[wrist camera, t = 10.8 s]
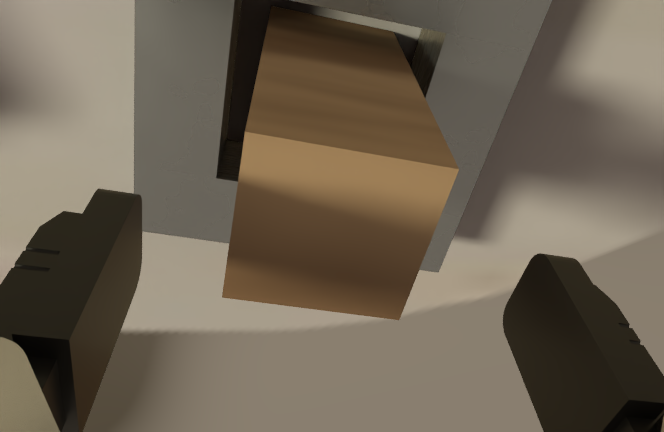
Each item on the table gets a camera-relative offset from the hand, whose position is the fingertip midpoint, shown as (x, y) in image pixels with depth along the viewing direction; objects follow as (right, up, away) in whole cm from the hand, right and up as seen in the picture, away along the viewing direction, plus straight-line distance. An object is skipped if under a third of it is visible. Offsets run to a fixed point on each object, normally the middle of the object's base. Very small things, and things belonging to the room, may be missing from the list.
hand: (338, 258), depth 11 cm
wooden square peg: (-1, +6, +9) cm, 11 cm away
